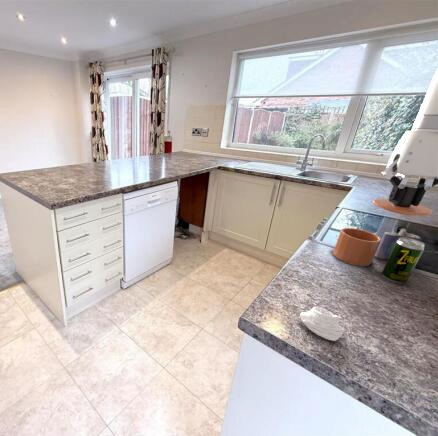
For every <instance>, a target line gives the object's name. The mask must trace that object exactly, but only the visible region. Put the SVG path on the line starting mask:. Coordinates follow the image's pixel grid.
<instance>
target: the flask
mask: <svg viewBox="0 0 438 436" xmlns="http://www.w3.org/2000/svg"><path fill="white" fill-rule="evenodd" d="M402 237H403V238H410V239H414V240H417V241H420V242H421V241H422V238H421V237H420V236H419V235H416V234H414V233H408V232H407V229H403V228H400V231H398V232H390V231H389V232H388V231H386V232H384V233H383V235H382V237H381V242H380V244H379V247H378V249H377V251H376V254H375V256H374V258H376V259H379V260H383V261H384V260H385V261H387V260H388V258H389V256H390V254H391V252H392V250H393V248H394V246H395V243H396V241H398V240H399V238H402Z"/></svg>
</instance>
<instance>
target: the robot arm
mask: <svg viewBox="0 0 438 436" xmlns="http://www.w3.org/2000/svg"><path fill="white" fill-rule="evenodd" d="M415 118H416V119H415V121H414V123H413V126H412V127H411V130H408V129H407V130H406V131H405V132H404V133H403V135H402V136H401V138H400V139H399V141H398V142H397V145H396V146H395V147H394V150H393V151H392V154H391V155H390V158H389V160H388V162H387V164H386V167H385V169H383V170H382V171H381V173H380V175H381V176H383V177H384V178H386V179H388V181H389V182H390V183H391V184H390V185H391V186H392V188H391V191H390V193H389V195H388V199H389V201H390V202H392V203H394V204H397V205H399V204H400V203H401V201H402V199H403V196H404V194H405V192H406V189H404V187H405V185H408V182H409V180H410V178H411V177H418V178H417V181H416V184H415V186H417V187H419V189H418V191H417V193H416V195H415V198H414V200H413V202H412V204H411V205H413V206H418V205H420V203H421V202H422V200H423V199H424V196H425V194H426V192H427V191H430V190H431V189H432V187H435V186H437V185H438V68H437V69H436V71H435V73H434V75H433V77H432V80H431V82H430V84H429V87H428V90H427V91H426V94H425V97H424V99H423V102H422V104H421V106H420V109H419V111H418V113H417V116H416V117H415ZM394 173H396V174H394Z"/></svg>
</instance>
